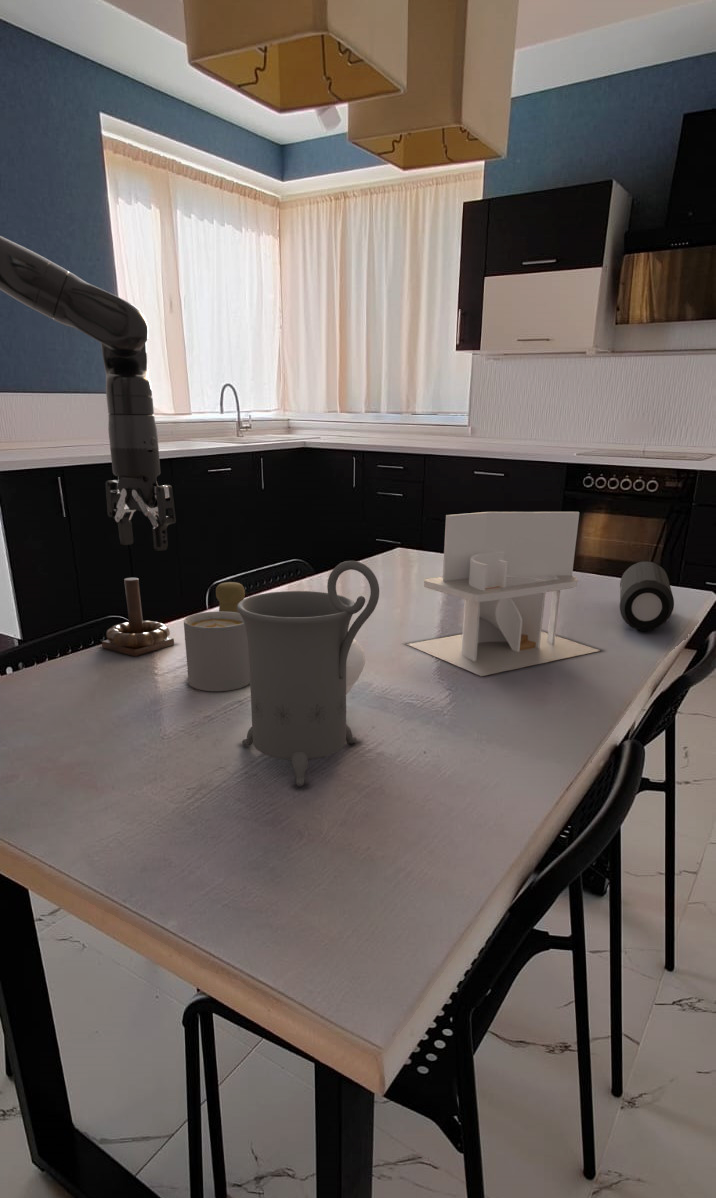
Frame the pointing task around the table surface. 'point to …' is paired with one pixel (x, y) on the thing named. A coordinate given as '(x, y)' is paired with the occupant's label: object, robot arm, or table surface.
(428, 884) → the table surface
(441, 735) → the table surface
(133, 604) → the post
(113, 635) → the ring
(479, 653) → the architectural model
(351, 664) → the spinning top
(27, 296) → the robot arm
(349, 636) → the mug
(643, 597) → the portable speaker
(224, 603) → the cork
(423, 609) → the table surface
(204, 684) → the coffee mug
